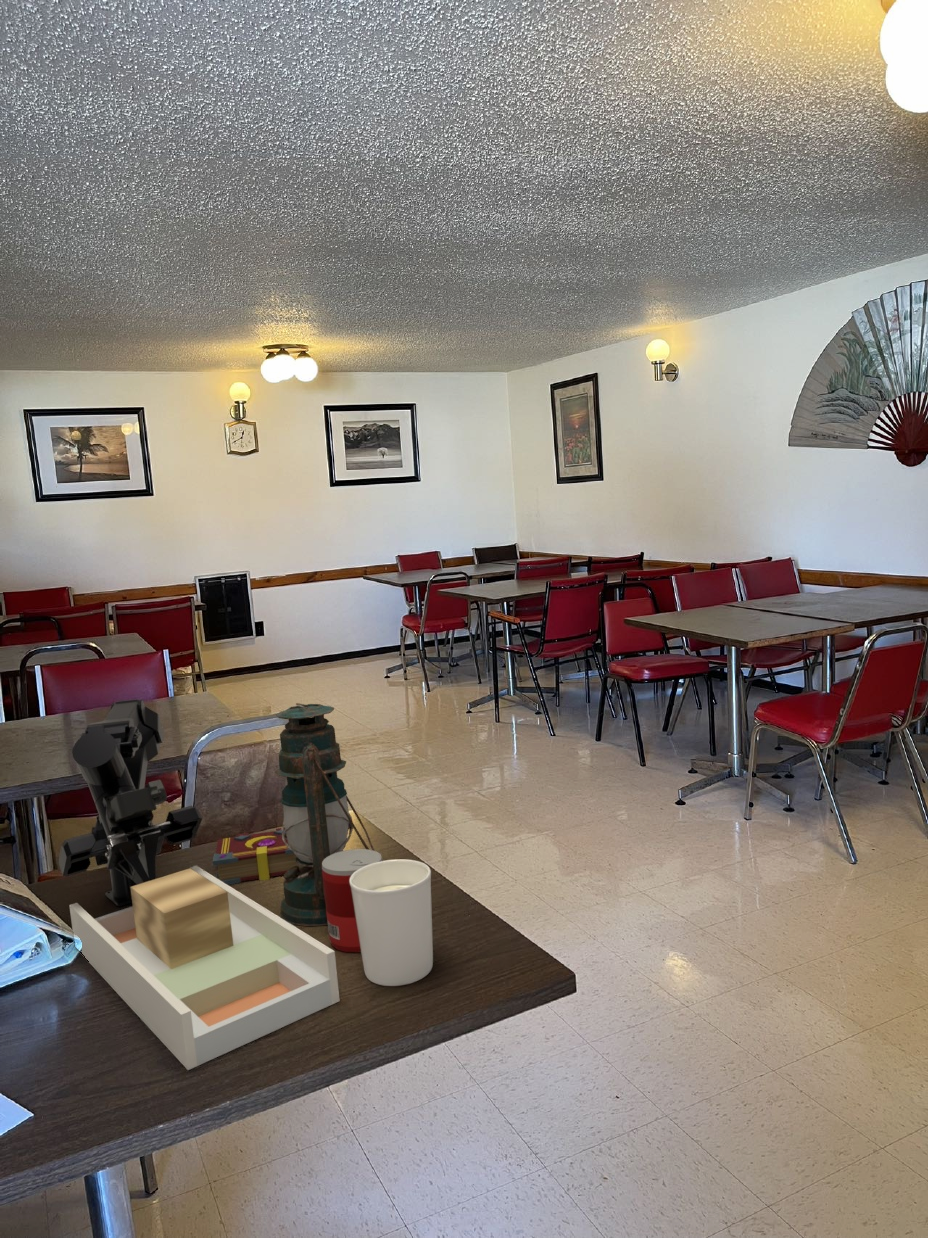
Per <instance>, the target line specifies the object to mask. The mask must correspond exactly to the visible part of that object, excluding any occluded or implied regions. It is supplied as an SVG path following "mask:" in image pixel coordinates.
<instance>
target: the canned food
mask: <svg viewBox="0 0 928 1238" xmlns="http://www.w3.org/2000/svg"><path fill="white" fill-rule="evenodd" d="M381 861H384V860H383V857H382V855H381V853H380V852H378V851H376V850H375V851H373V850H372V849H369V850H367V849H366V848H354V849H346V850H343V851H341V852H337V853H335V854H332V855H330V856H328V857H326V858H325V859H324V860H323V862H322V875H323V885H324V894H325V903H326V913H327V922H328V925H327V931H328V938H329V941H330V943H331V945H332V947H333V948H335V949H336V950H338V951H340V952H344V953H361V948H360V942H359V936H358V929H357V923H356V917H355V911H354V904H353V898H352V892H351V887H350V883H349V879H350V877H351V875H352V874H353V873H354V872H355V871H357V870H358V869H360V868H362V867H364V866H367V865H369V864H373V863H376V862H381Z"/></svg>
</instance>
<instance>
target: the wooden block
mask: <svg viewBox="0 0 928 1238" xmlns="http://www.w3.org/2000/svg"><path fill="white" fill-rule="evenodd" d="M130 888H131V896H132V903H131V904H132V906H133V912H134V920H135V928H136V936H137V939H138V940H139V941H140V942H141V943H142V944H144V945H145V946H146V947H147V948H148V949H149V950H150V951H151V952H152V953H154V954H155V955H156V956H157V957H158V958H159V959H160V960H161V961H162V962H164V963H165V964H166V965H167V966H168V967H169V968H170V969H173V968H176V967H178V966H181V965H184V964H186V963H189V962H192V961H194V960H197V959H200V958H202V957H205V956H207V955H210V954H213V953H215V952H218V951H221V950H223V949H226V948H229V947H231V946H233V937H232V928H231V919H230V911H229V902H228V893H227V891H225V890H223V889H222V888H220V887H219V886H217V885H215V884H214V883H212V882H211V881H209V880H208V879H206V878H204V877H203V876H201V875H200V874H198V873H197V872H195V871H193V870H192V869H190V867H189V868H187V869H184V870H180V871H177V872H173V873H170V874H168V875H165V876H161V877H158V878H155V879H154V880H151V881H148V882H144V883H141V884H138V885H135V886H132V887H130Z"/></svg>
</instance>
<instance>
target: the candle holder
mask: <svg viewBox="0 0 928 1238" xmlns="http://www.w3.org/2000/svg"><path fill="white" fill-rule="evenodd" d="M431 870H432V869H431V868H430V866H428V865H427V864H426V863H424V862H422V861H419V860H414V859H403V858H402V859H400V858H399V859H396V858H395V859H387V860H383V861H381V862H376V863H373V864H369V865H367V866H364V867H362V868H360V869H358V870H357V871H355V872H354V873H353V874H352V875H351V877H350V879H349V883H350V887H351V892H352V898H353V904H354V911H355V917H356V923H357V929H358V936H359V942H360V948H361V952H360V953H361V960H362V965H363V970H364V974H365V977H366V978H367V979H368V980H369V981H370V982H371V983H374V984H376V985H379V986H384V987H399V986H405V985H410V984H413V983H416V982H417V981H420V980H422V979H424V978H425V977H427V975H429V973H431V971H432V969H433V965H434V964H433V963H434V952H433V951H434V948H433V919H432V917H433V915H432V913H433V912H432V910H433V909H432V886H431V885H432V884H431V880H432V879H431V878H432V877H431V876H432V871H431Z"/></svg>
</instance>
